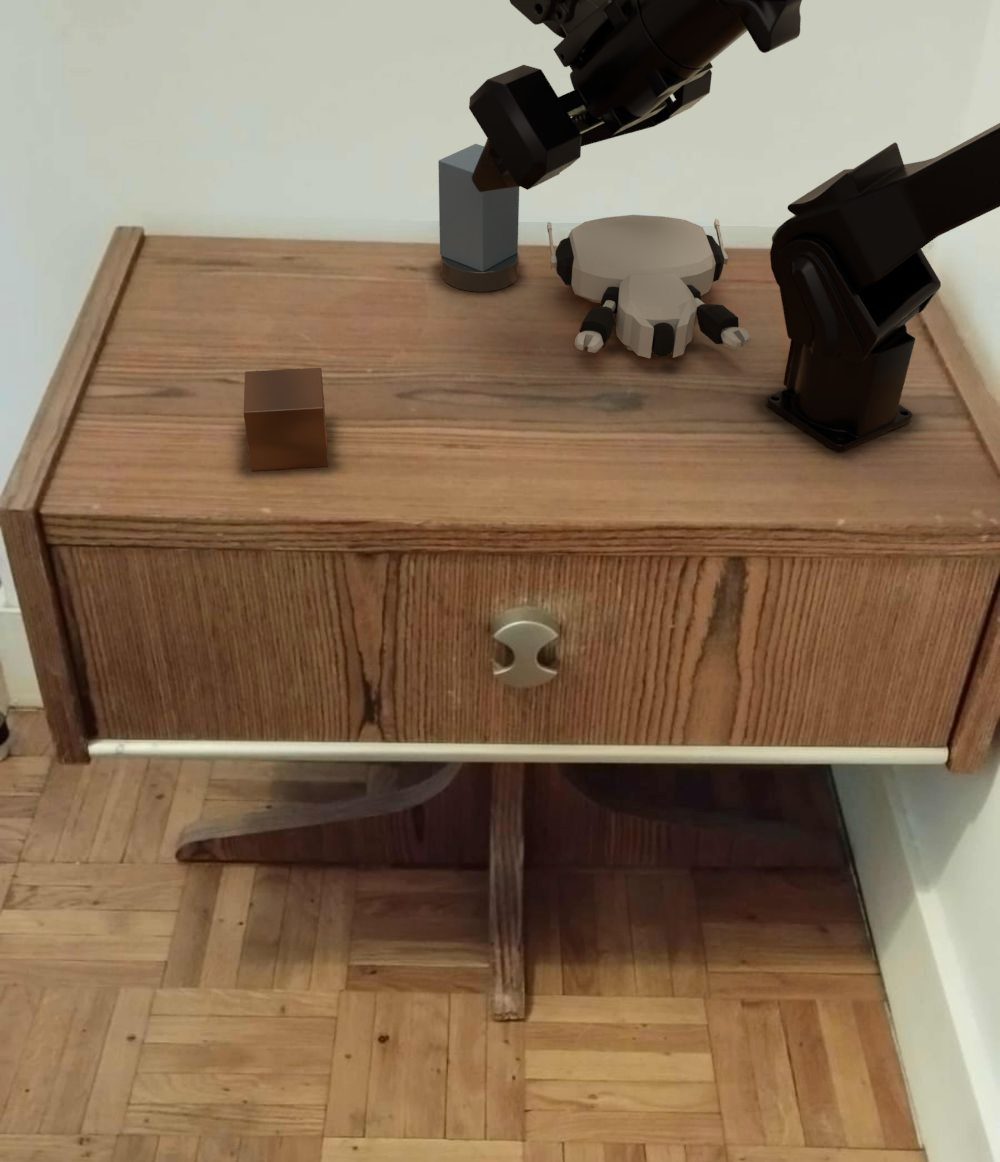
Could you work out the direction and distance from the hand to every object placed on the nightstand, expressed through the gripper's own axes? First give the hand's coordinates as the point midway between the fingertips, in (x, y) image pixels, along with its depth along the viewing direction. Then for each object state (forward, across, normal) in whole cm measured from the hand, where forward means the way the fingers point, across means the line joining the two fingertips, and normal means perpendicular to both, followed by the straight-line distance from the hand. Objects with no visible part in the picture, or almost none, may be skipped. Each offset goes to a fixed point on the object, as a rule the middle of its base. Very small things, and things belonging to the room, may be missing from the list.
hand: (520, 163), depth 86 cm
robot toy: (0, -2, +13) cm, 13 cm away
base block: (+5, +24, +8) cm, 26 cm away
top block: (+8, 0, +3) cm, 8 cm away
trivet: (+9, 0, +4) cm, 10 cm away
